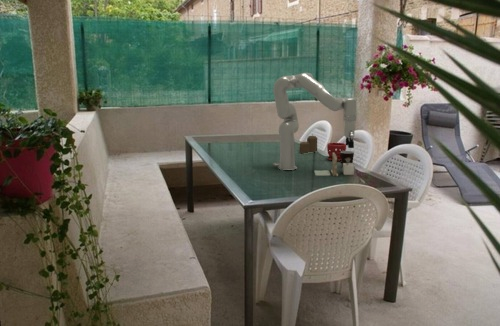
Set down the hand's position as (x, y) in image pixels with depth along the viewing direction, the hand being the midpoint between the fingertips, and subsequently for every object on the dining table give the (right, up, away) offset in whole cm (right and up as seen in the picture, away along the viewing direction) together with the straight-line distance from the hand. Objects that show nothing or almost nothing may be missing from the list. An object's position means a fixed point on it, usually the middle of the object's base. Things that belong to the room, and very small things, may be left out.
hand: (349, 146), depth 259 cm
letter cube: (0, -17, +4) cm, 17 cm away
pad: (-16, -17, +5) cm, 24 cm away
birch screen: (-8, -17, +5) cm, 19 cm away
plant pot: (+1, -8, +43) cm, 44 cm away
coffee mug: (+2, -13, +22) cm, 25 cm away
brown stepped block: (-15, -2, +73) cm, 75 cm away
